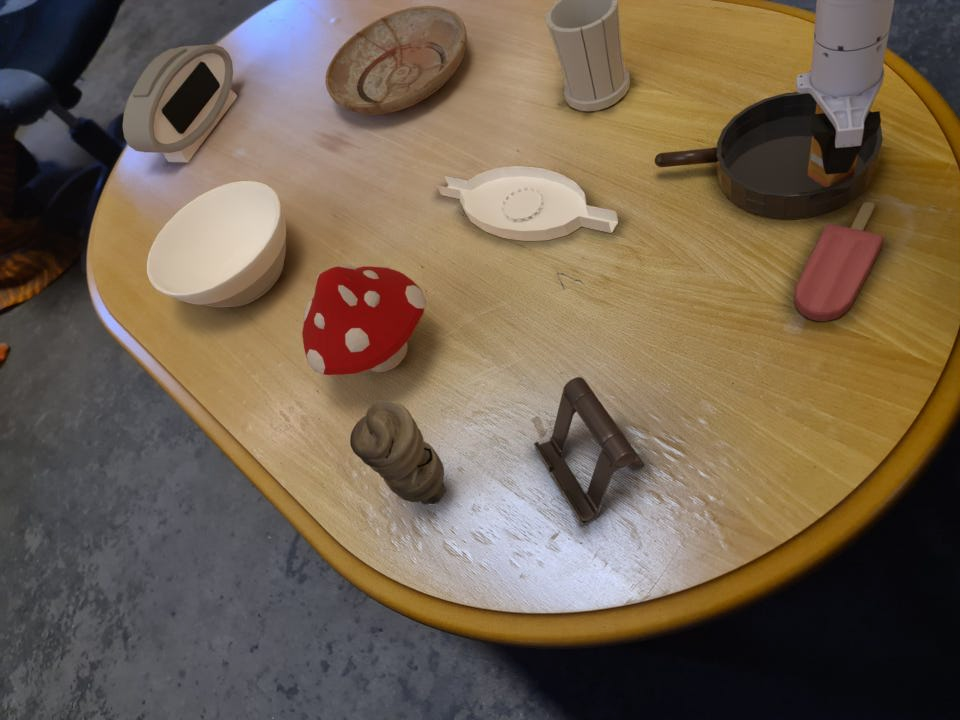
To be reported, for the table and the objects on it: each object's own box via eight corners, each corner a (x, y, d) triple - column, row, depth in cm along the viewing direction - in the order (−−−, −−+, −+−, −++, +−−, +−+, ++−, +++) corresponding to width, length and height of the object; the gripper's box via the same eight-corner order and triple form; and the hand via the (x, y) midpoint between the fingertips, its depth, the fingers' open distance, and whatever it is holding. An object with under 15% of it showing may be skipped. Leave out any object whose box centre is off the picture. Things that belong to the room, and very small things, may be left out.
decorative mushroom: (449, 297, 82) (398, 206, 70) (448, 396, 74) (391, 314, 62) (341, 321, 85) (275, 238, 73) (329, 419, 77) (253, 344, 65)
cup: (545, 113, 95) (523, 33, 85) (566, 70, 99) (547, -11, 89) (620, 113, 90) (605, 29, 81) (639, 68, 94) (627, -18, 84)
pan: (871, 108, 78) (875, 82, 75) (883, 214, 70) (889, 189, 67) (719, 125, 83) (718, 101, 81) (715, 224, 75) (714, 201, 73)
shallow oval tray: (464, 163, 94) (460, 153, 93) (634, 195, 81) (632, 184, 80) (424, 218, 91) (419, 208, 89) (594, 261, 78) (591, 250, 76)
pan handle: (724, 154, 78) (724, 143, 77) (724, 164, 77) (724, 153, 76) (655, 161, 81) (654, 150, 80) (654, 170, 80) (653, 160, 79)
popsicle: (900, 203, 68) (844, 319, 63) (897, 214, 69) (842, 329, 64) (842, 192, 71) (784, 303, 66) (840, 203, 72) (783, 312, 67)
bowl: (168, 284, 100) (128, 246, 93) (276, 203, 103) (245, 160, 96) (216, 359, 88) (173, 322, 82) (336, 265, 91) (305, 221, 84)
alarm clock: (180, 176, 115) (126, 114, 105) (155, 175, 118) (100, 114, 108) (250, 84, 125) (206, 18, 115) (225, 85, 128) (180, 21, 118)
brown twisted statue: (442, 457, 70) (380, 381, 58) (476, 491, 67) (418, 418, 55) (401, 497, 69) (329, 427, 57) (433, 533, 66) (364, 468, 54)
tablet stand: (536, 452, 67) (514, 410, 61) (607, 411, 67) (591, 365, 61) (581, 527, 62) (562, 490, 55) (658, 482, 62) (647, 440, 55)
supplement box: (830, 193, 71) (841, 112, 63) (806, 176, 73) (813, 96, 65) (857, 176, 71) (871, 93, 63) (832, 159, 73) (842, 78, 65)
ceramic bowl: (311, 121, 112) (295, 95, 108) (391, 29, 120) (379, 2, 116) (422, 140, 100) (408, 111, 96) (502, 37, 108) (493, 7, 104)
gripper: (797, -11, 64) (790, 110, 75) (801, 92, 57) (793, 210, 67) (884, -26, 61) (864, 102, 72) (901, 80, 54) (876, 204, 65)
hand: (835, 154), depth 69 cm, fingers closed on supplement box, 4 cm apart
